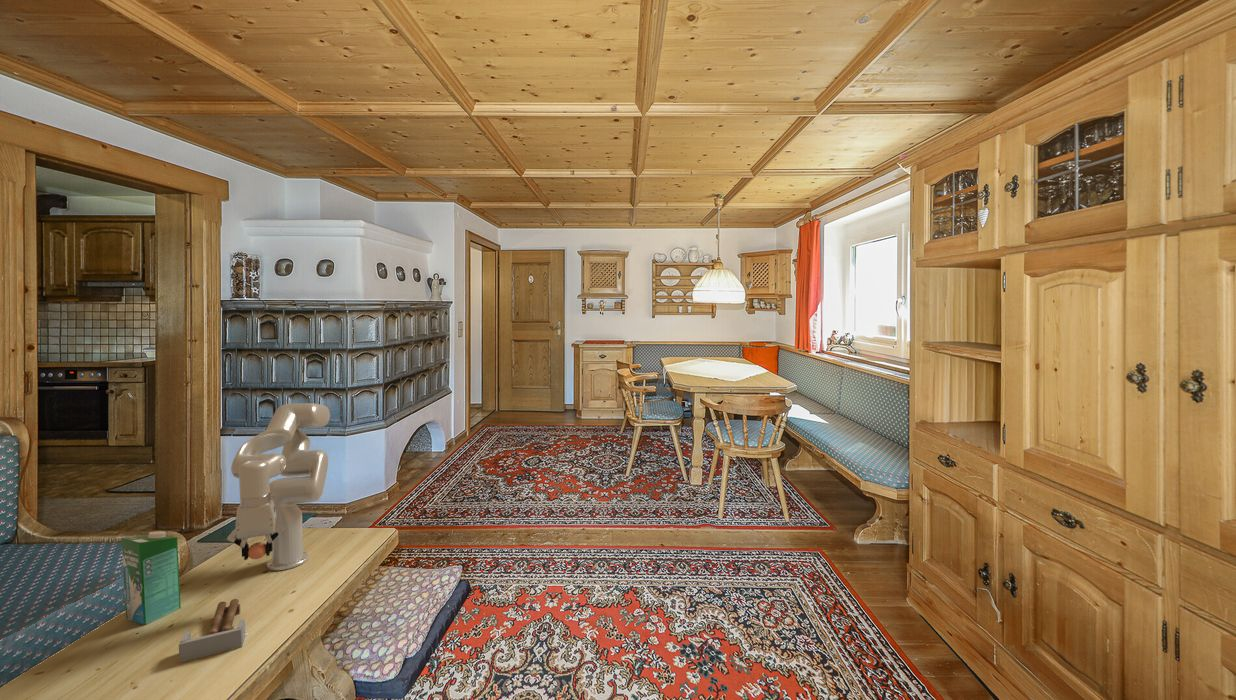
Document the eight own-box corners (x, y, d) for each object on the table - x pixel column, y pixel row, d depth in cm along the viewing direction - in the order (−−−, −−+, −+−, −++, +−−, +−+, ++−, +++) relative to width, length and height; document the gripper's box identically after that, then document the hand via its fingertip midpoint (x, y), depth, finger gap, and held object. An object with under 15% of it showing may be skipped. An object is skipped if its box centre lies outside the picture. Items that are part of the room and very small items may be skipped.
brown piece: (217, 616, 144) (216, 602, 144) (240, 610, 147) (240, 597, 147) (206, 639, 134) (205, 624, 134) (231, 633, 137) (231, 618, 136)
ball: (249, 556, 152) (248, 541, 152) (268, 553, 155) (268, 538, 154) (246, 563, 148) (245, 548, 148) (266, 560, 150) (265, 544, 150)
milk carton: (181, 608, 148) (177, 529, 146) (144, 625, 140) (139, 542, 138) (162, 602, 151) (158, 525, 149) (125, 618, 143) (121, 537, 141)
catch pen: (185, 650, 129) (184, 632, 129) (245, 635, 136) (244, 618, 135) (179, 662, 125) (178, 644, 125) (241, 646, 131) (241, 629, 131)
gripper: (289, 491, 157) (291, 545, 159) (223, 500, 149) (226, 556, 150) (286, 499, 151) (288, 555, 152) (217, 509, 143) (220, 568, 144)
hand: (257, 555), depth 151 cm, fingers closed on ball, 4 cm apart
